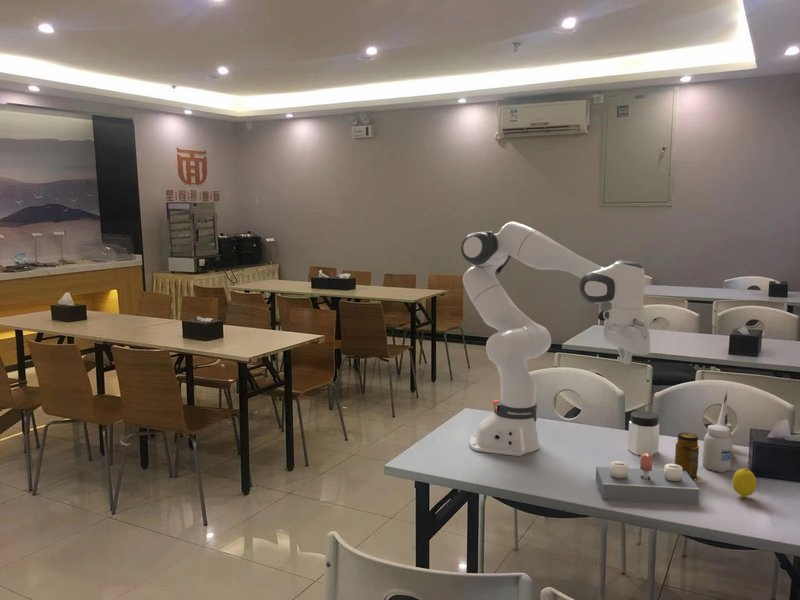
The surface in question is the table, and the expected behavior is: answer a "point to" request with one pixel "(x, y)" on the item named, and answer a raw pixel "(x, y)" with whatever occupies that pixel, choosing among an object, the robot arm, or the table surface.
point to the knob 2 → (673, 472)
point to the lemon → (744, 482)
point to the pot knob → (646, 464)
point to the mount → (646, 487)
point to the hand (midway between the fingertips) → (625, 363)
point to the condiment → (688, 454)
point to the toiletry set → (718, 443)
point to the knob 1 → (618, 469)
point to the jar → (643, 432)
